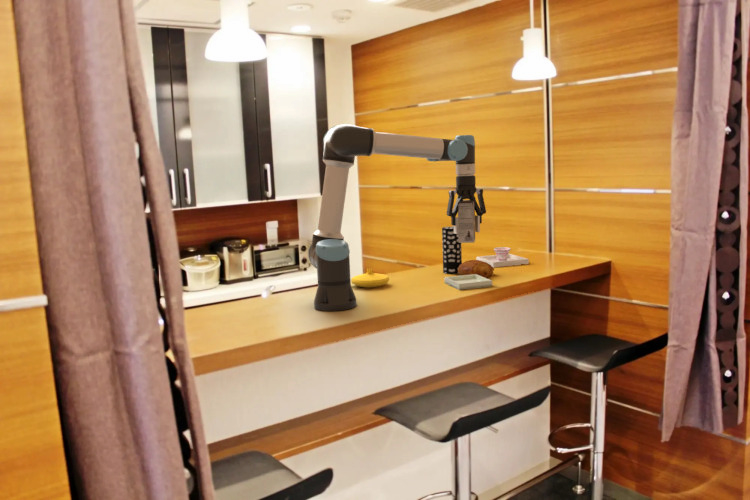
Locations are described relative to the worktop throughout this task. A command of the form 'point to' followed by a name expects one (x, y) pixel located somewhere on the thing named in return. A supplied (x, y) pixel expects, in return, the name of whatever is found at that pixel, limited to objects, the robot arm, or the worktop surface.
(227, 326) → the worktop surface
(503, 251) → the teacup
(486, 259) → the saucer
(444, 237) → the spotted tube
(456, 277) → the tray
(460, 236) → the coffee box
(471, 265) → the croissant
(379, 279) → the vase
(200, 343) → the worktop surface
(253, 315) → the worktop surface
